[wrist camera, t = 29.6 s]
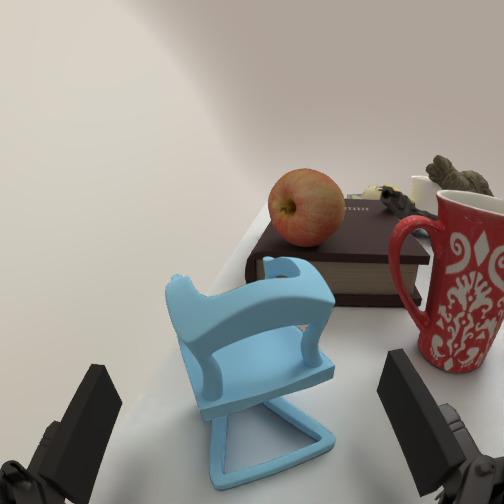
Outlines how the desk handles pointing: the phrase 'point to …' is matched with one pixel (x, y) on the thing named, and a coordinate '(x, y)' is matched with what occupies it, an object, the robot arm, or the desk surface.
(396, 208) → the handgun
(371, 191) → the toy
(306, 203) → the apple
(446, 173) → the statue
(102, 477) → the desk surface
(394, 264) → the mug
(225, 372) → the chair
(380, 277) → the book
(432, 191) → the mug
